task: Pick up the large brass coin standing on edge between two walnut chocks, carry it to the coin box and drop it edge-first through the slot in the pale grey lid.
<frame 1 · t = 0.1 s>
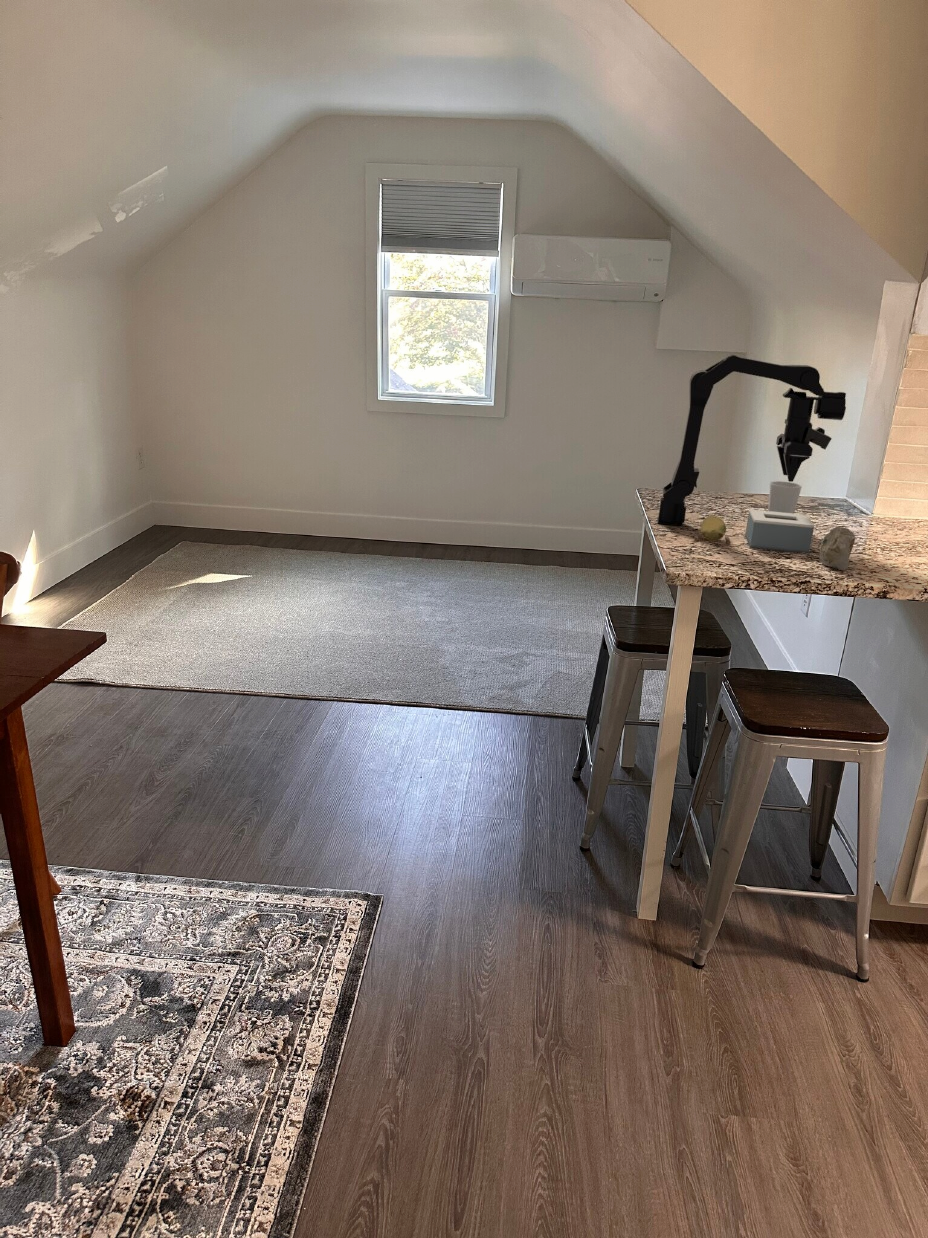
hand: (788, 478, 235), 15 cm above the breakfast bar, fingers open, 9 cm apart
cup: (778, 528, 245), on the breakfast bar
coin: (711, 539, 229), on the breakfast bar
rock: (833, 566, 212), on the breakfast bar
coin box: (776, 544, 228), on the breakfast bar
coin stand: (711, 539, 228), on the breakfast bar
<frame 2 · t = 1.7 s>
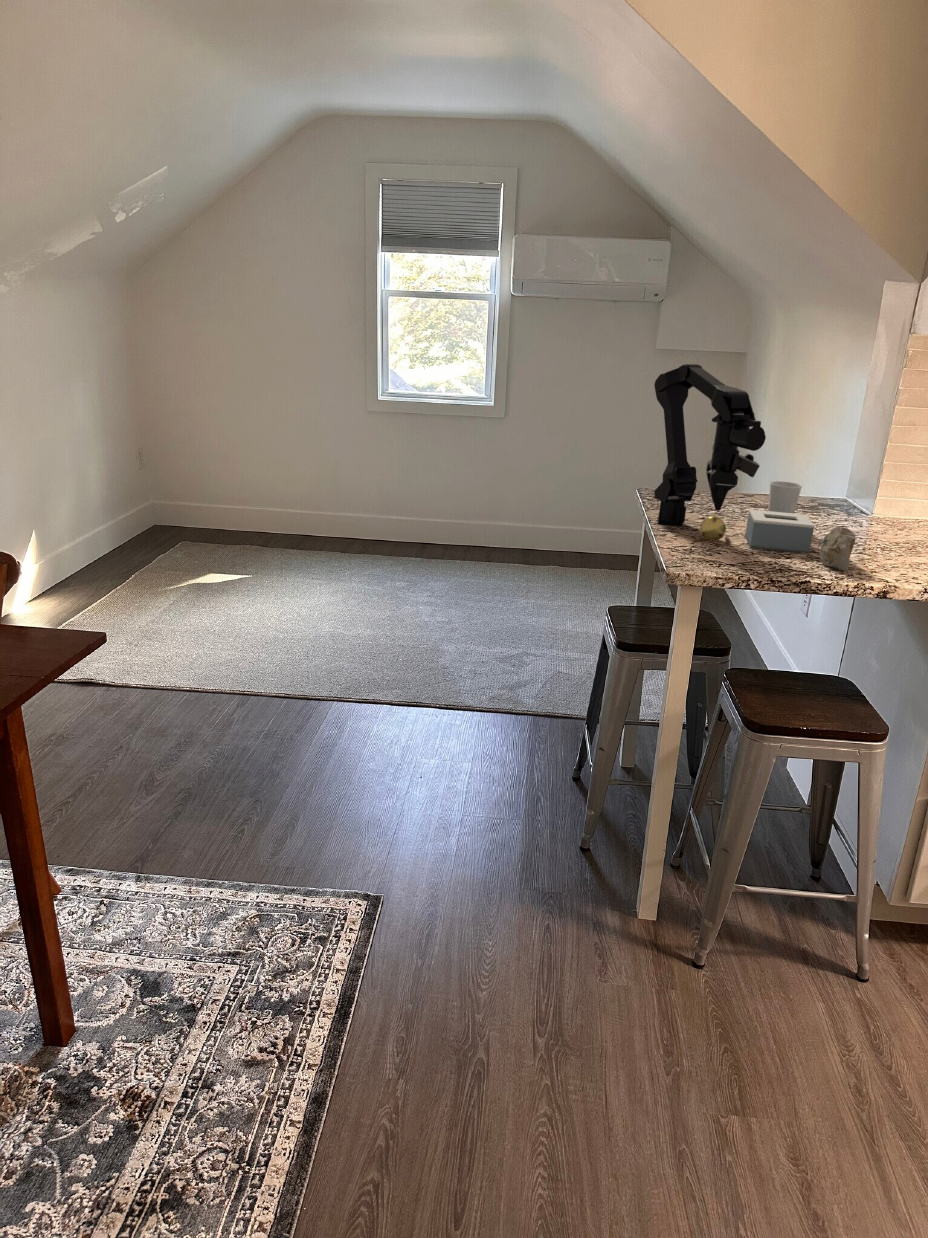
hand: (716, 506, 226), 9 cm above the breakfast bar, fingers open, 9 cm apart
nothing on the breakfast bar moved.
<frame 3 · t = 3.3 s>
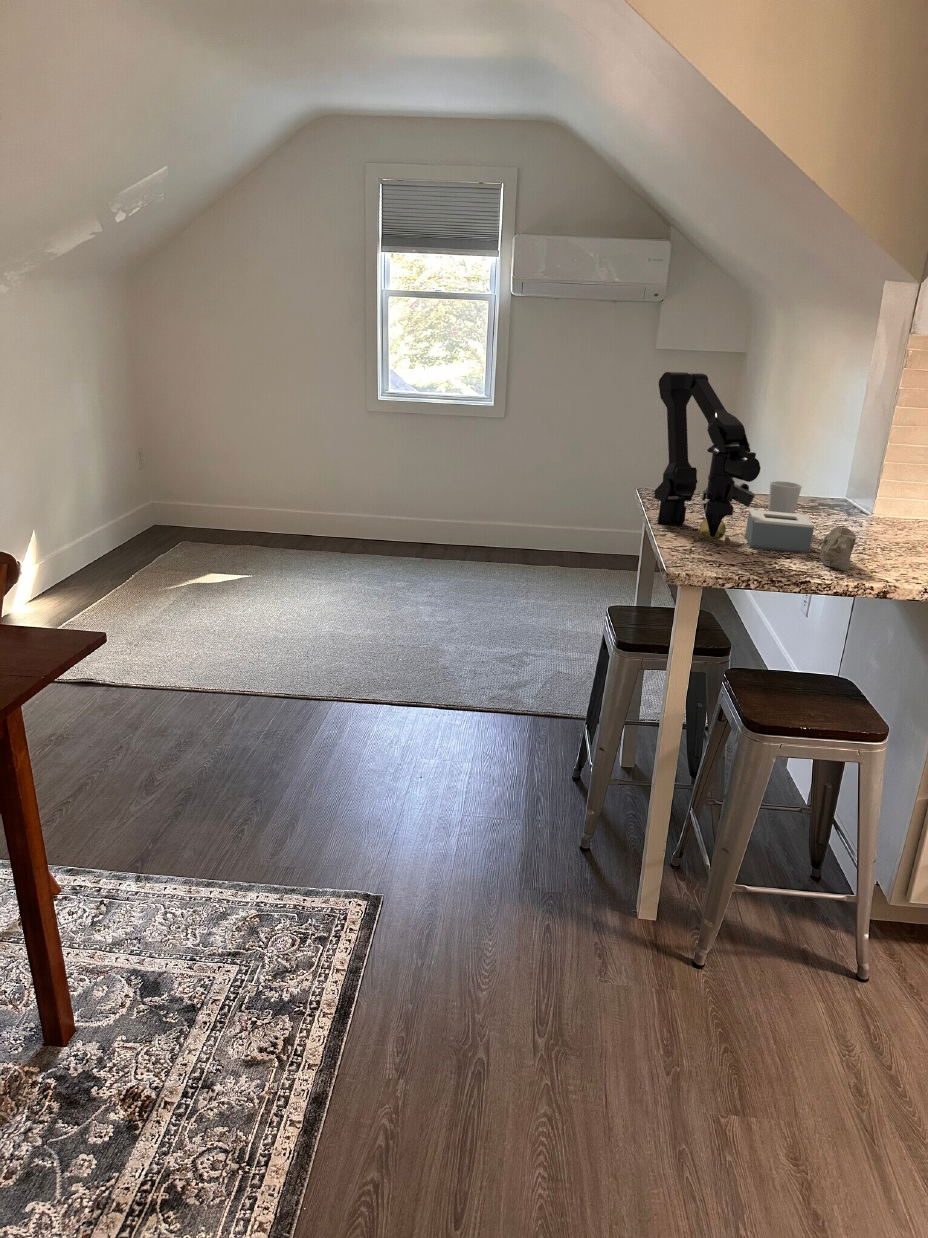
hand: (712, 535, 228), 1 cm above the breakfast bar, fingers closed on coin, 2 cm apart
coin: (711, 539, 229), on the breakfast bar, touching gripper
everything else where it was.
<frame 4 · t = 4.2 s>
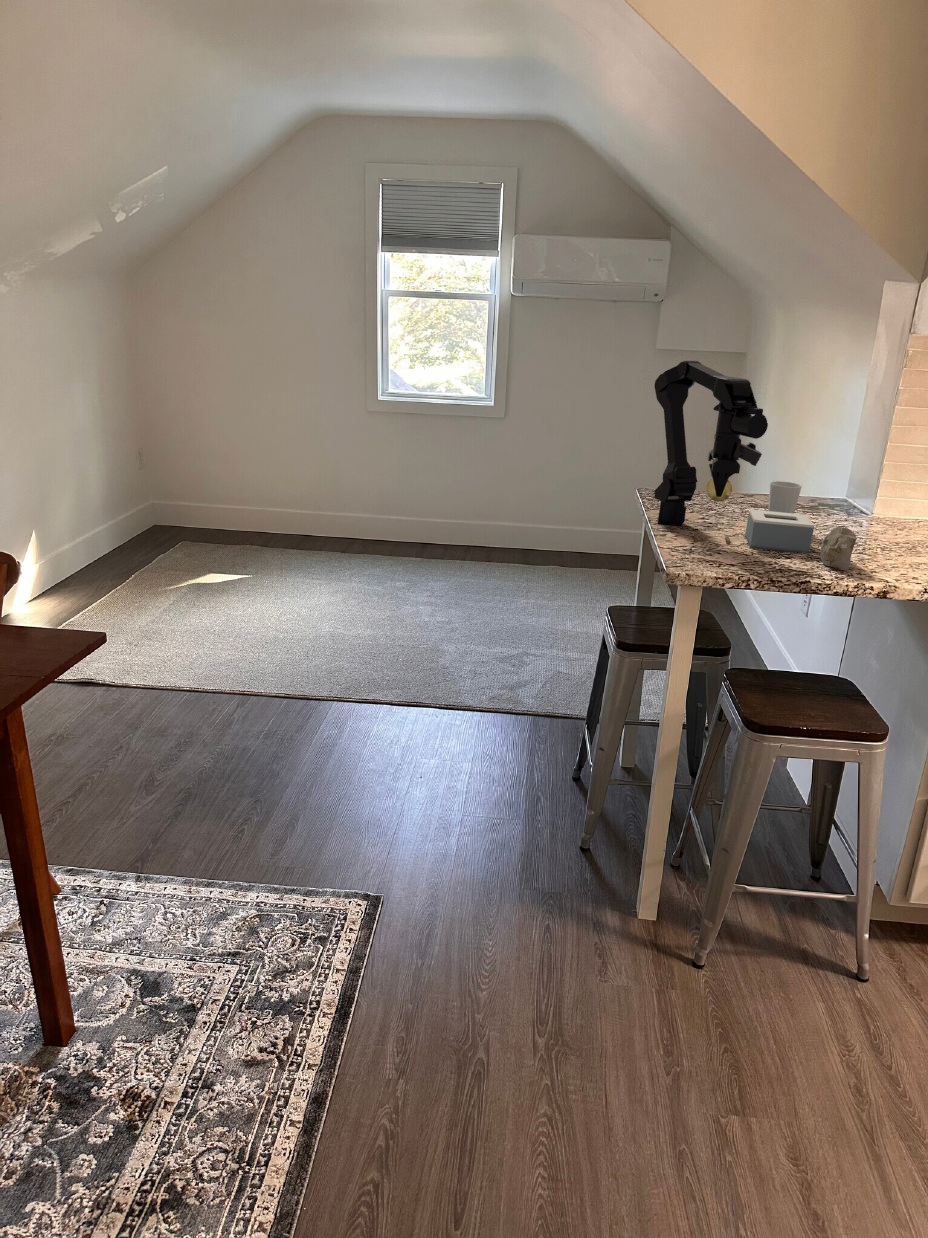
hand: (718, 495, 225), 11 cm above the breakfast bar, fingers closed on coin, 2 cm apart
coin: (717, 500, 225), point 10 cm above the breakfast bar, touching gripper
everything else where it was.
when the fingers open (10 cm above the breakfast bar, at t = 5.6 s): coin drops 8 cm, resting on coin box.
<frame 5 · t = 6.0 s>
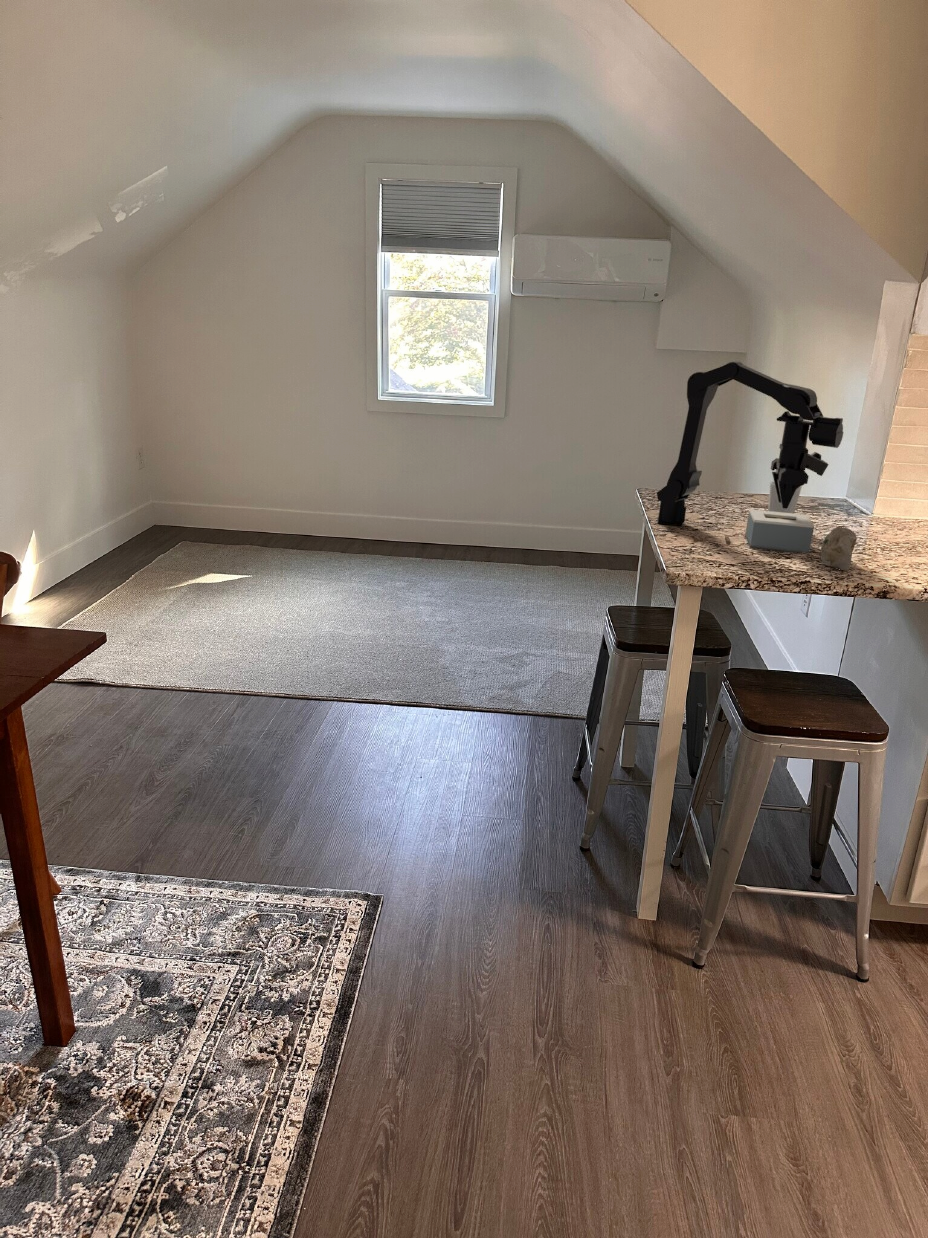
hand: (782, 505, 224), 10 cm above the breakfast bar, fingers open, 7 cm apart
coin: (776, 542, 228), point 1 cm above the breakfast bar, touching coin box
everything else where it was.
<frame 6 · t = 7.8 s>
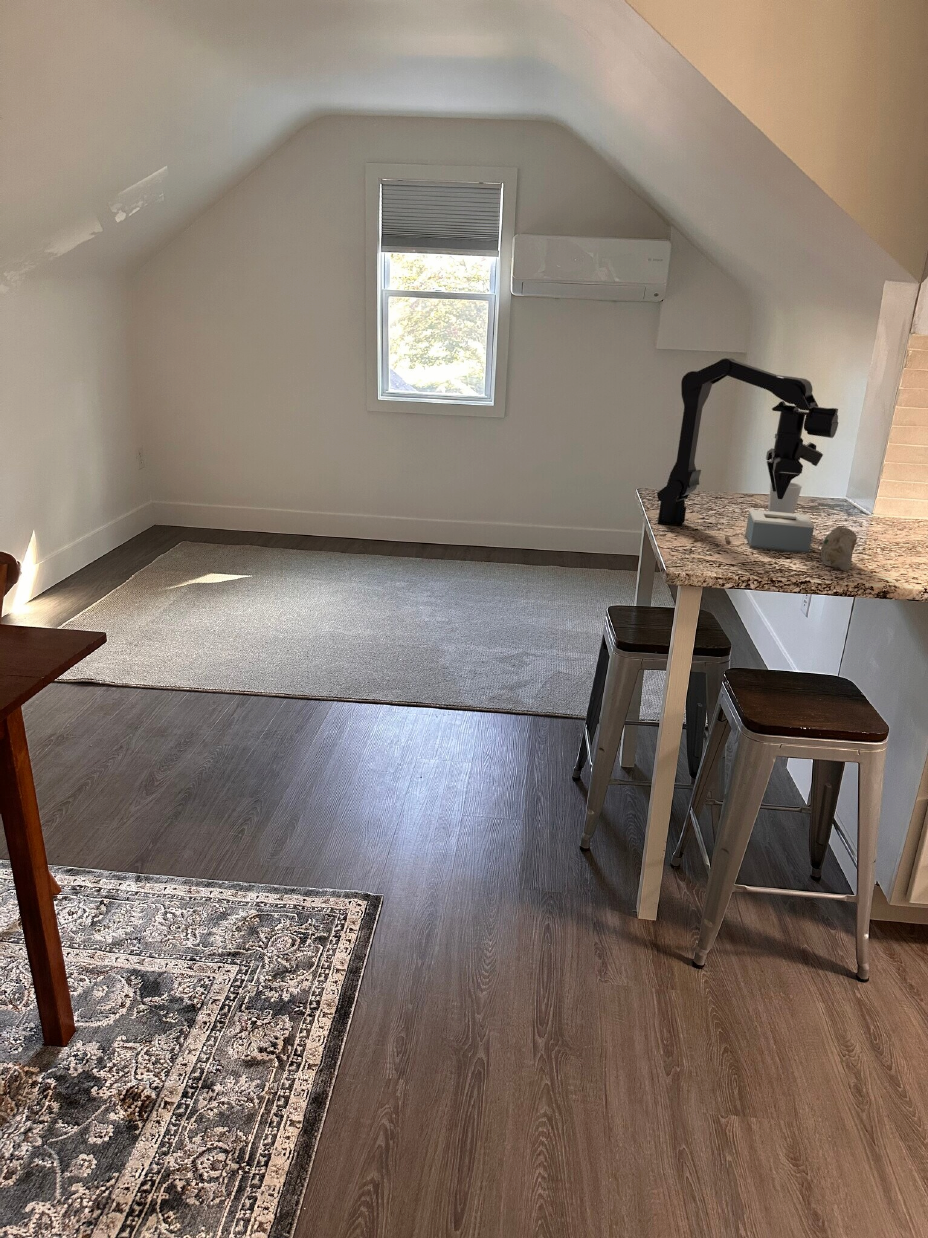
hand: (777, 495, 225), 12 cm above the breakfast bar, fingers open, 9 cm apart
nothing on the breakfast bar moved.
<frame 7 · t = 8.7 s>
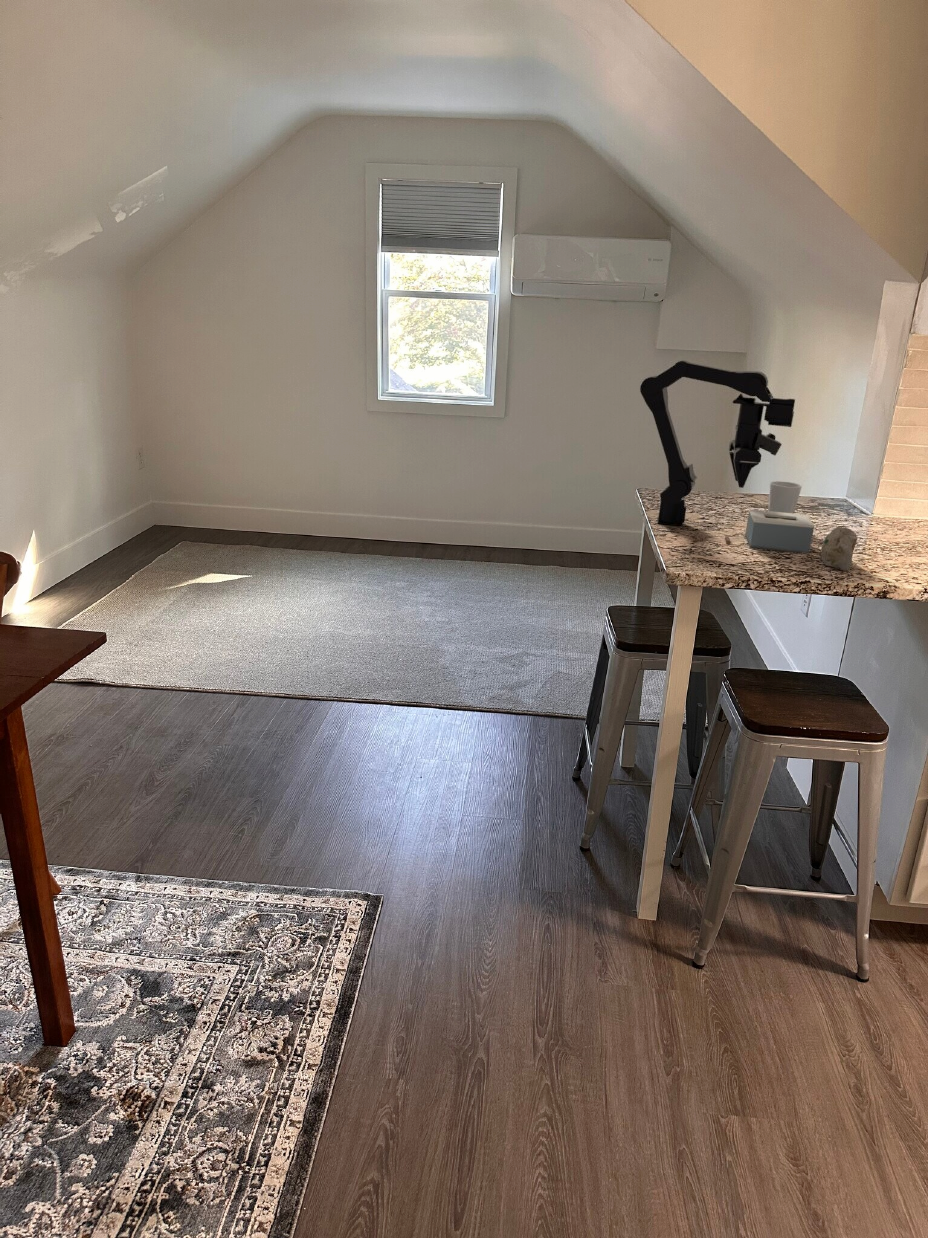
hand: (739, 484, 234), 12 cm above the breakfast bar, fingers open, 9 cm apart
nothing on the breakfast bar moved.
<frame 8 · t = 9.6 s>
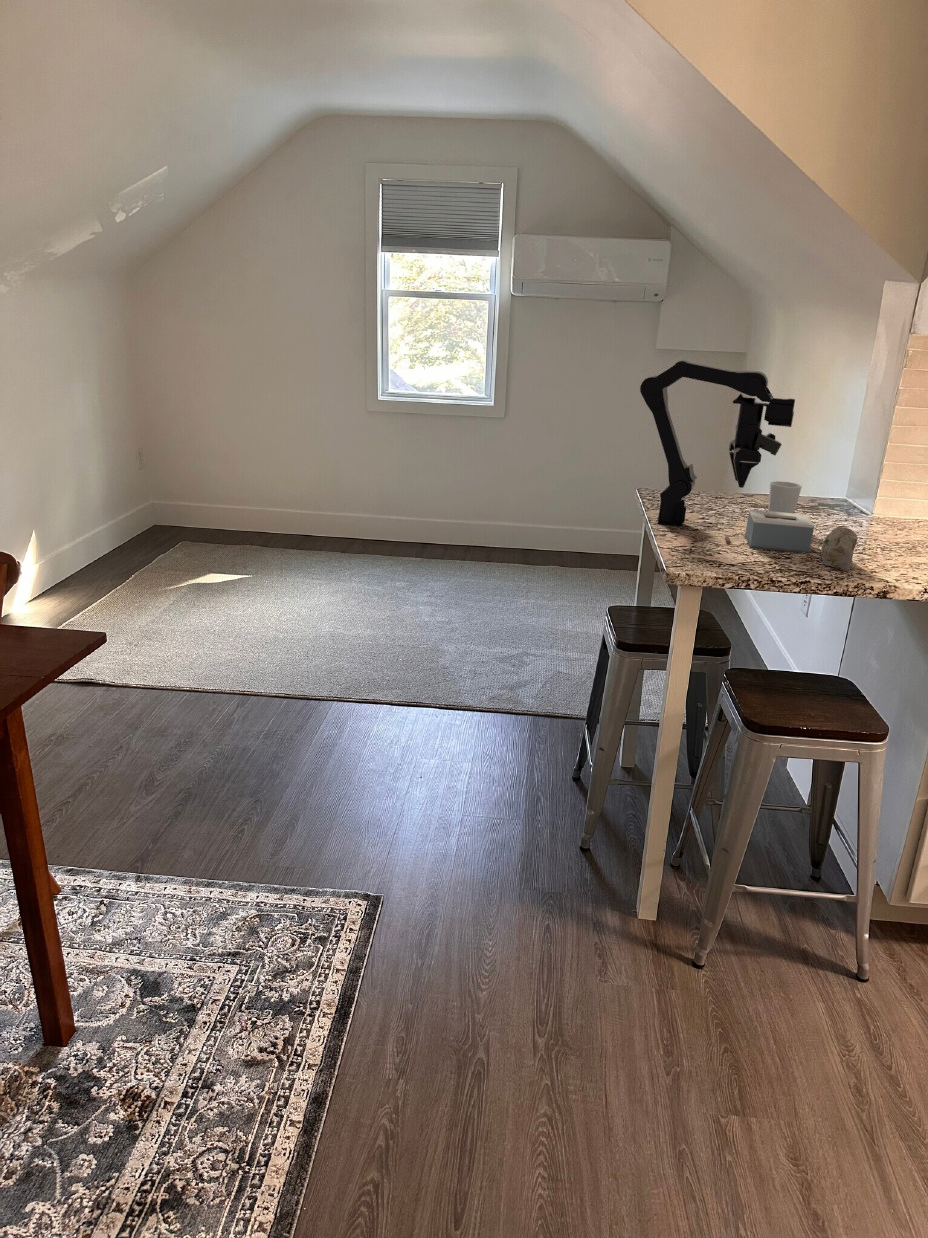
hand: (739, 484, 234), 13 cm above the breakfast bar, fingers open, 9 cm apart
nothing on the breakfast bar moved.
at the end: coin inside the target area on the coin box (0.1 cm from its centre), point 0.5 cm above the coin box's base; the gripper is holding nothing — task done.
